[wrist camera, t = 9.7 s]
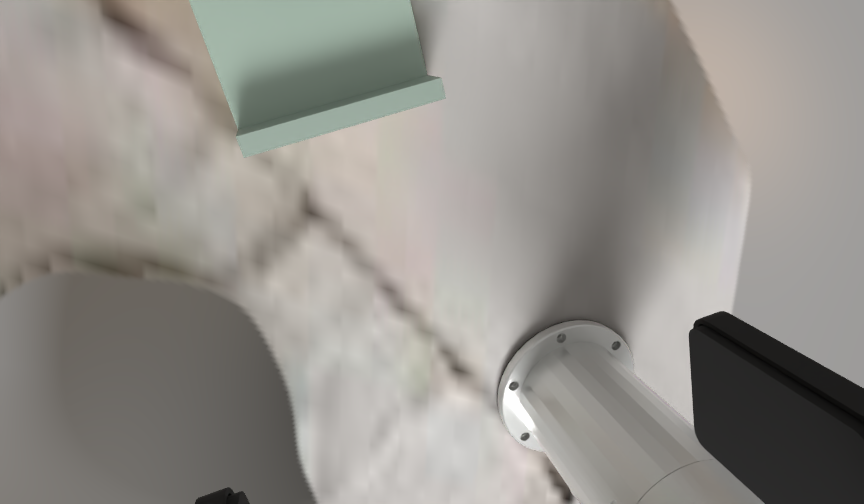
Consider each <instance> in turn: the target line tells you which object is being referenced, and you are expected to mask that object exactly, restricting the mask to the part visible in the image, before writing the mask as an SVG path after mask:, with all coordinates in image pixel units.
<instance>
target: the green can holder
mask: <svg viewBox="0 0 864 504" xmlns="http://www.w3.org/2000/svg"><path fill="white" fill-rule="evenodd" d="M189 2H190V4H191V7H192V10H193V12H194V15H195V17H196V20H197V23H198V25H199V28H200V31H201V33H202V36H203V38H204V41H205V44H206V46H207V49H208V52H209V54H210V57H211V59H212V62H213V65H214V67H215V70H216V73H217V75H218V78H219V80H220V83H221V86H222V88H223V91H224V94H225V96H226V99H227V101H228V104H229V107H230V109H231V112H232V115H233V117H234V120H235V122H236V125H237V128H238V131H237V135H236V138H237V141H238V144H239V146H240V149H241V151H242V154H243V157H244V158H245V157H248V156H252V155H255V154H259V153H262V152H265V151H269V150H272V149H276V148H279V147H282V146H286V145H289V144H293V143H296V142H299V141H303V140H306V139H310V138H313V137H316V136H320V135H323V134H327V133H330V132H333V131H337V130H340V129H344V128H347V127H350V126H354V125H357V124H361V123H364V122H367V121H371V120H374V119H378V118H381V117H384V116H388V115H391V114H394V113H398V112H401V111H405V110H408V109H411V108H415V107H418V106H422V105H425V104H428V103H432V102H435V101H439V100H442V99H445V98H446V97H445V92H444V88H443V83H442V79H441V78H440V77H435V76H429V75H427V71H426V67H425V62H424V58H423V54H422V50H421V45H420V41H419V37H418V32H417V28H416V24H415V19H414V15H413V11H412V7H411V2H410V0H189Z"/></svg>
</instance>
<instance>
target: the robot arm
mask: <svg viewBox="0 0 864 504" xmlns="http://www.w3.org/2000/svg"><path fill="white" fill-rule="evenodd" d="M689 347H690V364H691V381H692V398H693V415H694V426H693V425H692V424H691V423H690V422H688V421H687V420H686V419H685V418H684V417H683V416H682V415H681V414H679V413H678V412H677V411H676V410H675V409H674V408H673V407H671V406H670V405H669V404H668V403H667V402H666V401H665V400H663V399H662V398H661V397H660V396H659V395H658V394H657V393H656V392H654V391H653V390H652V389H651V388H650V387H649V386H648V385H646V384H645V383H644V382H643V381H642V380H641V379H640V378H638V377H637V376H636V375H635V374H634V362H633V357H632V354H631V352H630V349H629V347H628V345H627V344H626V343H625V342H624V340H623V339H622V338H621V337H620V336H619V335H618V334H616V333H615V332H614V331H613V330H612V329H610V328H608V327H606V326H604V325H603V324H600V323H597V322H593V321H585V320H575V321H568V322H563V323H560V324H557V325H554V326H551V327H549V328H547V329H546V330H544V331H542V332H540V333H538V334H537V335H535V336H534V337H533V338H531V339H530V340H529V341H527V342H526V343H525V344H524V345H523V346H522V347H521V348H520V349H519V350H518V351H517V352H516V354H515V355H514V357H513V358H512V359H511V361H510V362H509V364H508V366H507V368H506V370H505V372H504V374H503V376H502V379H501V382H500V385H499V389H498V400H497V402H498V410H499V414H500V417H501V420H502V422H503V424H504V426H505V427H506V429H507V431H508V432H509V434H510V435H511V436H512V437H513V438H514V439H515V440H516V441H517V442H518V443H520V444H521V445H523V446H524V447H527V448H529V449H532V450H535V451H541V452H545V453H546V455H547V456H548V458H549V459H550V461H551V462H552V463H553V465H554V466H555V468H556V469H557V471H558V472H559V474H560V475H561V476H562V478H563V479H564V481H565V482H566V484H567V485H568V487H569V488H570V491H571V493H572V494H573V495H574V496H575V497H576V498H577V500H578V501H579V502H580V504H864V388H862V387H860V386H858V385H856V384H854V383H853V382H851V381H849V380H847V379H846V378H844V377H842V376H840V375H838V374H837V373H835V372H833V371H831V370H830V369H828V368H826V367H824V366H822V365H821V364H819V363H817V362H815V361H814V360H812V359H810V358H808V357H806V356H805V355H803V354H801V353H799V352H797V351H795V350H794V349H792V348H790V347H788V346H787V345H784V344H783V343H781V342H779V341H778V340H776V339H774V338H772V337H771V336H769V335H767V334H765V333H763V332H762V331H760V330H758V329H756V328H754V327H753V326H751V325H749V324H747V323H745V322H744V321H742V320H740V319H738V318H736V317H735V316H733V315H731V314H729V313H727V312H724V311H721V312H717V313H714V314H712V315H709V316H706V317H703V318H700V319H698V320H696V321H695V323H694V327H693V329H692V330H690V332H689ZM195 504H249V502H248V499H247V497H246V495H245V493H244V492H243V491H241V492H238V493H235V494H234V492H233V490H232V489H231V488H225V489H222V490H219V491H216V492H214V493H211V494H208V495H205V496H202V497H200V498H198V499H197V500H196V502H195Z"/></svg>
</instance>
